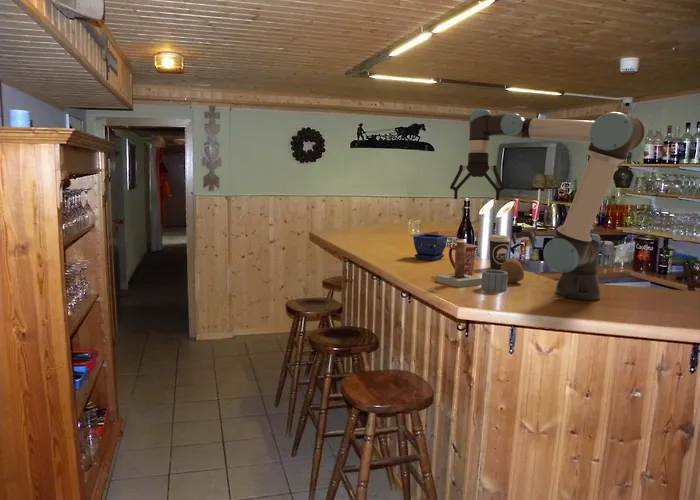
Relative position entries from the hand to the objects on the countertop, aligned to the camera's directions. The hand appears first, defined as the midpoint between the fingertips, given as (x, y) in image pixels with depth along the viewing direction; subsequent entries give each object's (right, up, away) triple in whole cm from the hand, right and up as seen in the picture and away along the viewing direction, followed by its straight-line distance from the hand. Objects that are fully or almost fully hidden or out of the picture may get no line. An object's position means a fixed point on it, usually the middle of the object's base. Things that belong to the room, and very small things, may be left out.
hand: (475, 208), depth 209 cm
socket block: (-6, -29, +2) cm, 30 cm away
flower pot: (-9, -21, +63) cm, 67 cm away
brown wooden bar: (-6, -29, +2) cm, 30 cm away
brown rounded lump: (+16, -30, +8) cm, 34 cm away
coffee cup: (+19, -25, +41) cm, 52 cm away
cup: (+5, -31, -7) cm, 32 cm away
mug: (-2, -27, +19) cm, 34 cm away
